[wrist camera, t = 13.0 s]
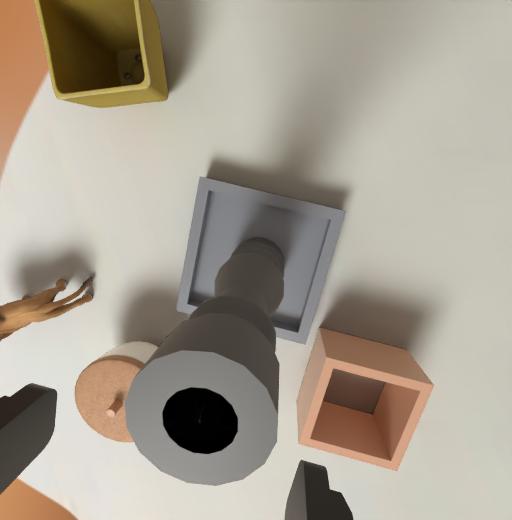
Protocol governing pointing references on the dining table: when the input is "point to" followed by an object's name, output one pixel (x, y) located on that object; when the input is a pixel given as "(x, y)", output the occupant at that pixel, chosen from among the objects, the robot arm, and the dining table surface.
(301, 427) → the square copper bin
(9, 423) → the robot arm
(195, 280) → the tray
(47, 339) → the dining table surface
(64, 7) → the flower pot
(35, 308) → the lion figurine
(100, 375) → the lidded jar
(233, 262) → the candle holder
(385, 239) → the dining table surface
